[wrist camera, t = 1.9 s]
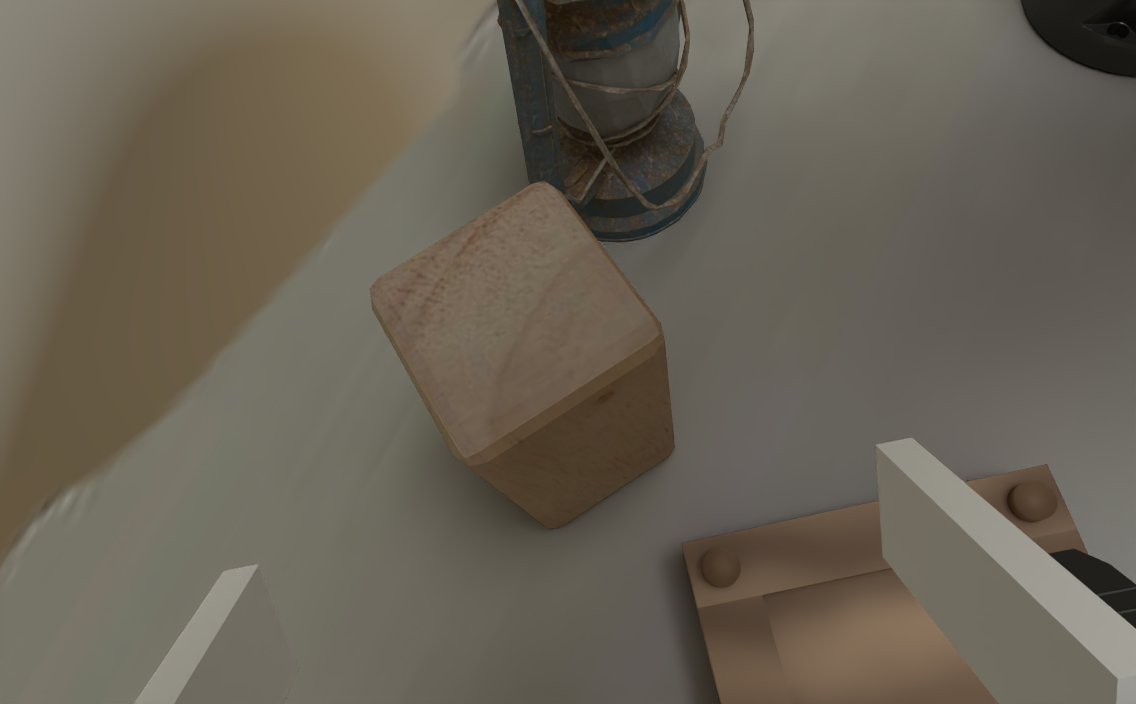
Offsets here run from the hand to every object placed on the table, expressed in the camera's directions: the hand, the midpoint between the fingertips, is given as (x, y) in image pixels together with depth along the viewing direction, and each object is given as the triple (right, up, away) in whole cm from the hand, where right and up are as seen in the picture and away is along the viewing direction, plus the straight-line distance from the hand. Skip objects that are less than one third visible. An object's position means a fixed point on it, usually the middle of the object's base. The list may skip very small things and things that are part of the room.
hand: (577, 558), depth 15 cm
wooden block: (0, -1, +34) cm, 34 cm away
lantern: (+5, +18, +40) cm, 44 cm away
